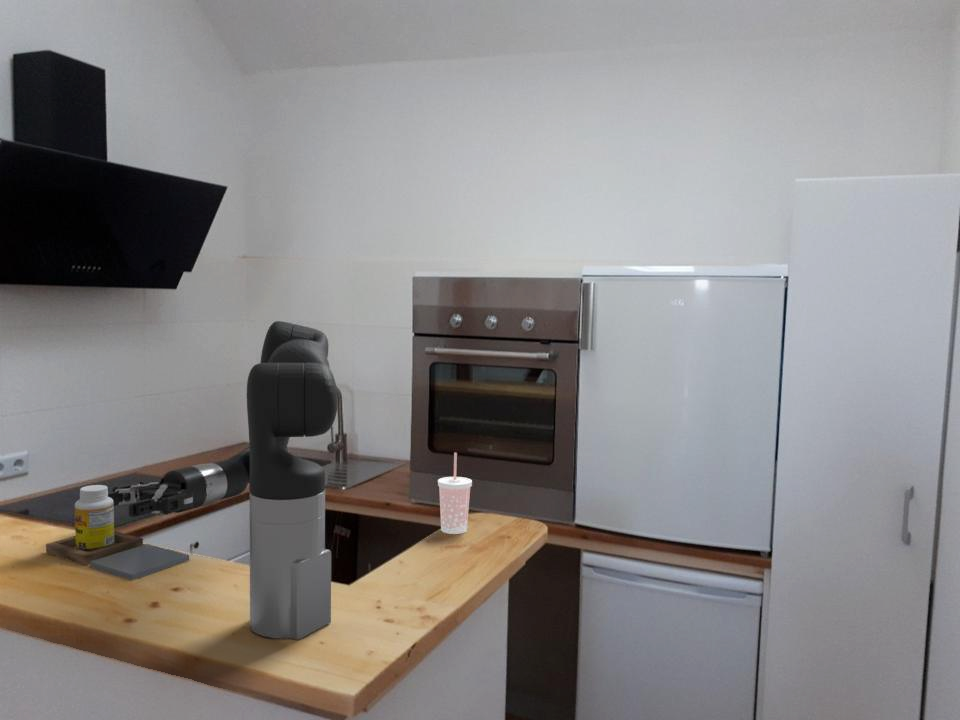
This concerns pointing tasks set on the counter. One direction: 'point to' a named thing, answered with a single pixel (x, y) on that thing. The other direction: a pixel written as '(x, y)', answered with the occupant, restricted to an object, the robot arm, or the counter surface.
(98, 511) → the supplement bottle
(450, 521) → the beverage cup
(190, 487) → the robot arm
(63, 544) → the pocket frame
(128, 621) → the counter surface
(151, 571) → the slate coaster
